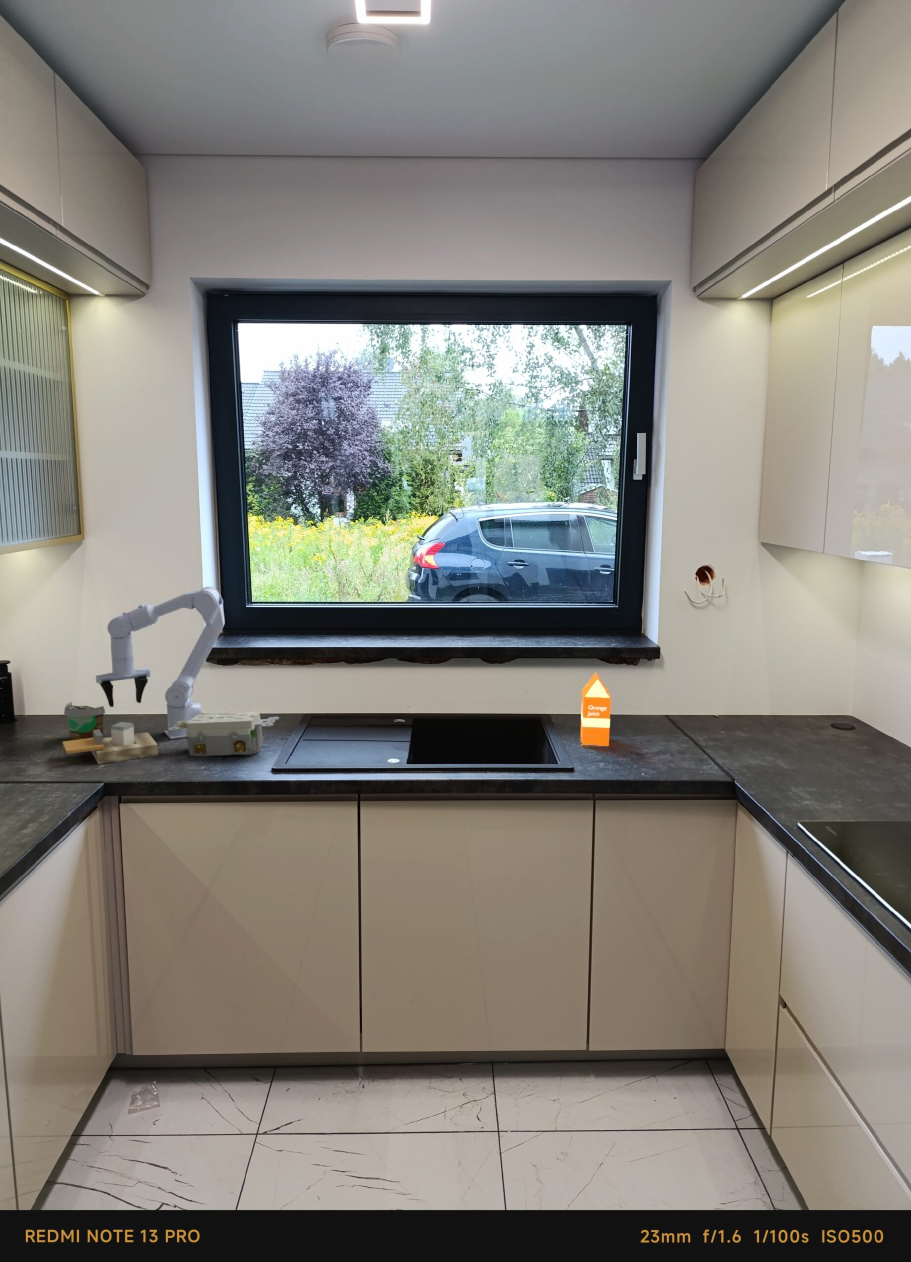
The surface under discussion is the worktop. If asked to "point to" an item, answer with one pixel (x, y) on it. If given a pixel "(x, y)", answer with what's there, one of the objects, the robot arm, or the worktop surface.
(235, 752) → the electrical outlet
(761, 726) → the worktop surface
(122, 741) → the grey upright block
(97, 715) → the food container
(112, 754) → the socket block
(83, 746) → the shutter
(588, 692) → the orange juice
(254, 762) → the worktop surface
